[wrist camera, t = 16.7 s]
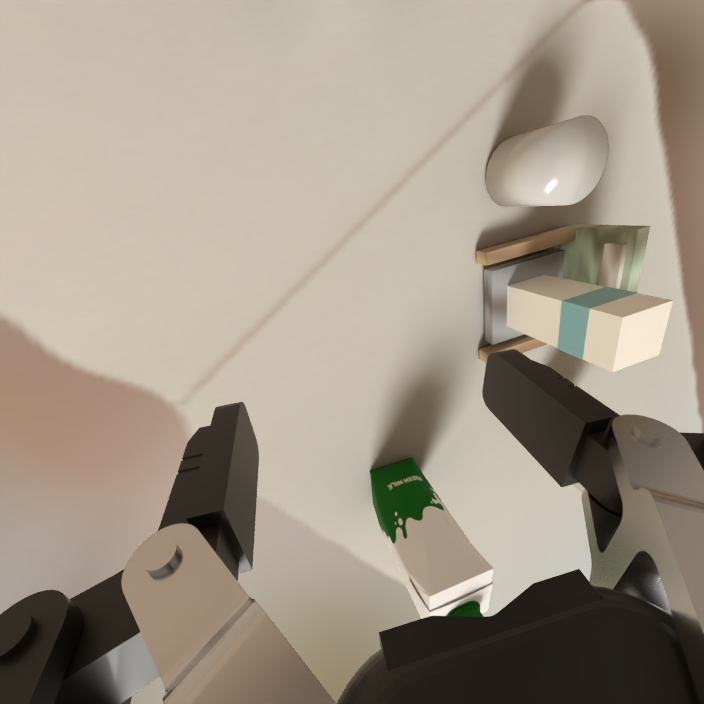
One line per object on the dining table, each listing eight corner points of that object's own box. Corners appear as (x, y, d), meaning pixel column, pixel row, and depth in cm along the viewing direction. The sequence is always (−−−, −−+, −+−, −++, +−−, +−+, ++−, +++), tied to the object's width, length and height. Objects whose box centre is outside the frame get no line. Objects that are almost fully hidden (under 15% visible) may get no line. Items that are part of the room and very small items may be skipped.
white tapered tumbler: (484, 145, 34) (544, 126, 26) (539, 128, 34) (613, 106, 27) (487, 214, 37) (542, 214, 30) (538, 197, 38) (603, 193, 31)
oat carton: (506, 285, 39) (622, 317, 27) (544, 274, 40) (673, 299, 28) (506, 326, 42) (611, 372, 29) (542, 315, 43) (659, 355, 30)
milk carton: (368, 509, 50) (434, 667, 32) (363, 467, 46) (436, 619, 29) (417, 492, 52) (505, 631, 34) (417, 450, 48) (515, 582, 31)
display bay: (476, 250, 38) (534, 260, 30) (572, 224, 40) (650, 226, 32) (479, 358, 45) (527, 389, 37) (561, 330, 47) (624, 353, 39)
